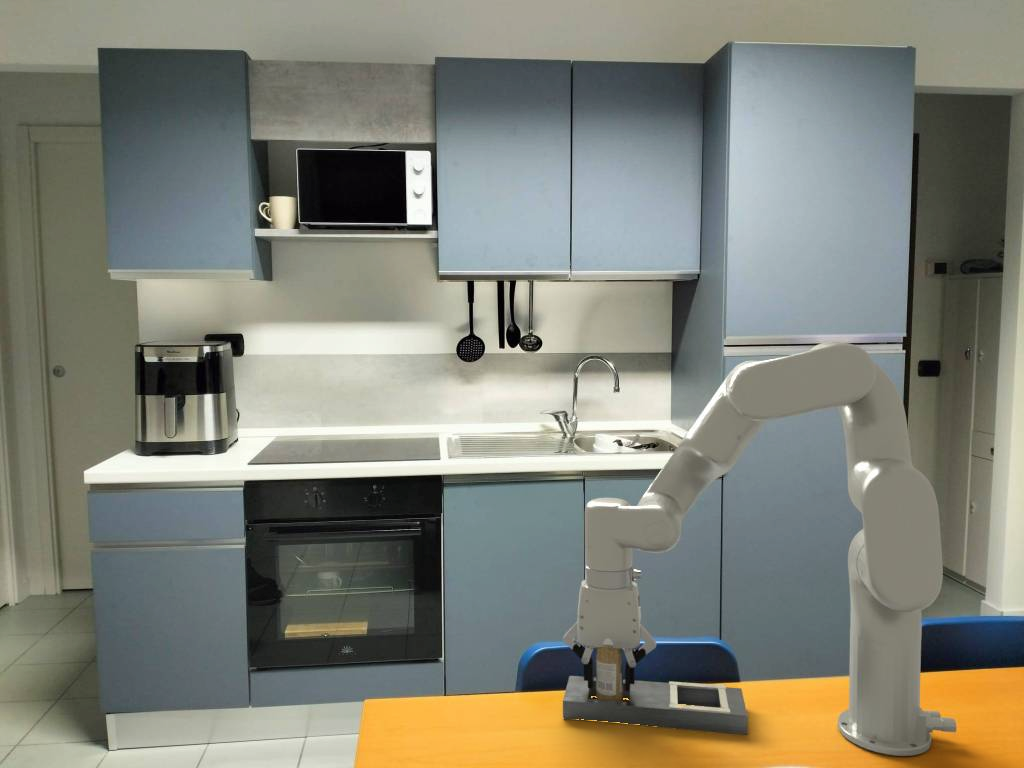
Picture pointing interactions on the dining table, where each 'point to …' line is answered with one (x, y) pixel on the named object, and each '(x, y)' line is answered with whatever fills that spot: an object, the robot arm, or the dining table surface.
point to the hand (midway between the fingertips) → (609, 685)
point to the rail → (662, 705)
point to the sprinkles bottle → (609, 672)
